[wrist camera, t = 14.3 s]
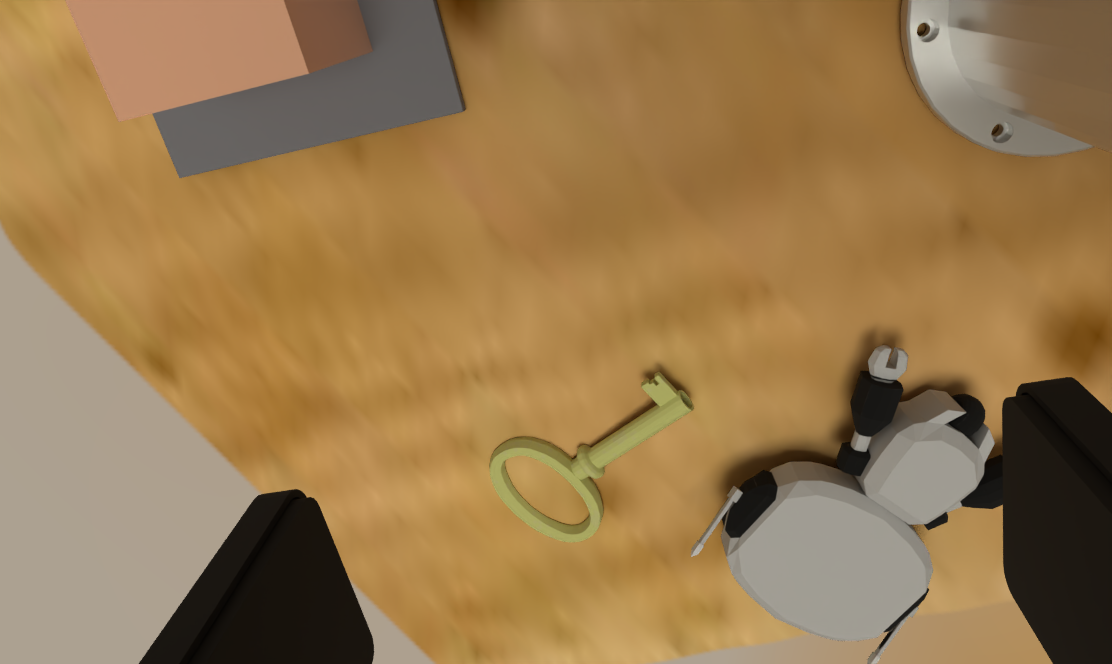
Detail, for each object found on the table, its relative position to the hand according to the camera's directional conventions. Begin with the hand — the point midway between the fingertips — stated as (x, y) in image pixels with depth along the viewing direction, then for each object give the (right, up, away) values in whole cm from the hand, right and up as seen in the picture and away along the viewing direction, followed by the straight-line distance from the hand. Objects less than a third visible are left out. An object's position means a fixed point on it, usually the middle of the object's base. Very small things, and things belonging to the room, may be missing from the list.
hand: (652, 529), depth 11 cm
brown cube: (-14, +17, +23) cm, 32 cm away
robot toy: (+15, -5, +32) cm, 36 cm away
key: (+1, -4, +33) cm, 33 cm away
